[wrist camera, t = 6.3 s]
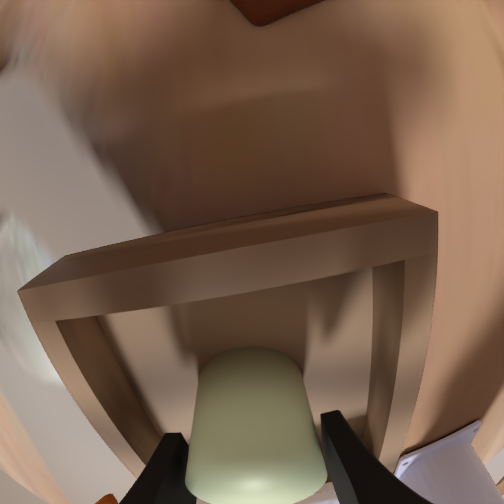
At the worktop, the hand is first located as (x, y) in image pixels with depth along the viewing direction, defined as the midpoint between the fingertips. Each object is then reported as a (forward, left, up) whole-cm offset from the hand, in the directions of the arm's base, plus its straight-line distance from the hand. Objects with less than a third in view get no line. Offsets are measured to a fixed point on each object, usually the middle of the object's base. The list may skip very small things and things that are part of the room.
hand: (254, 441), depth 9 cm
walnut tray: (0, 0, -4) cm, 4 cm away
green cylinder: (0, 0, -3) cm, 3 cm away
